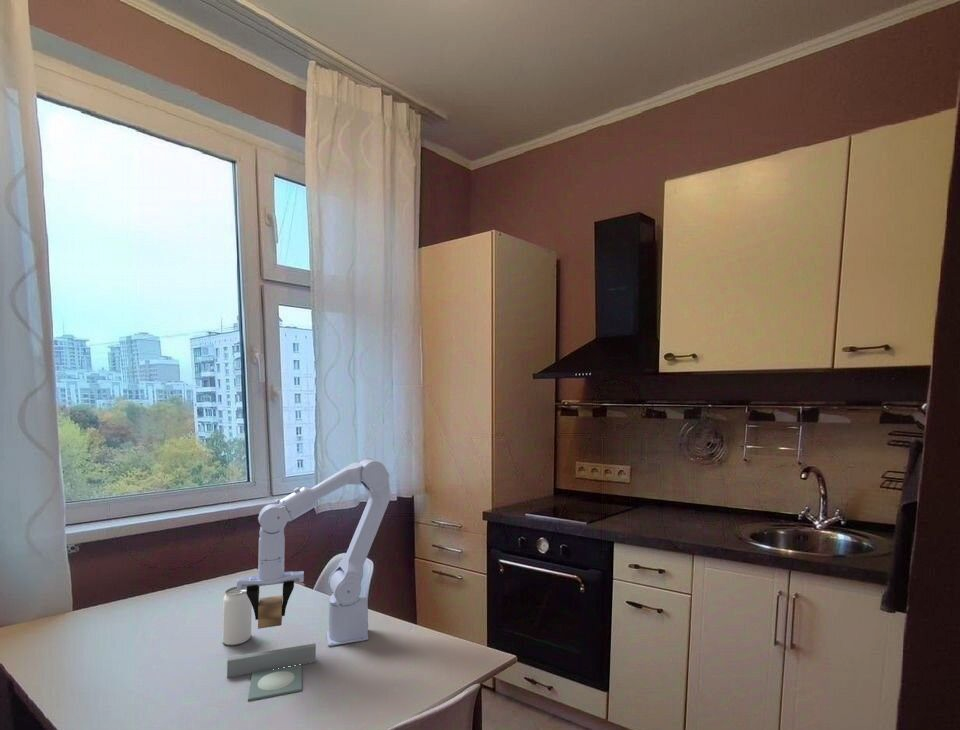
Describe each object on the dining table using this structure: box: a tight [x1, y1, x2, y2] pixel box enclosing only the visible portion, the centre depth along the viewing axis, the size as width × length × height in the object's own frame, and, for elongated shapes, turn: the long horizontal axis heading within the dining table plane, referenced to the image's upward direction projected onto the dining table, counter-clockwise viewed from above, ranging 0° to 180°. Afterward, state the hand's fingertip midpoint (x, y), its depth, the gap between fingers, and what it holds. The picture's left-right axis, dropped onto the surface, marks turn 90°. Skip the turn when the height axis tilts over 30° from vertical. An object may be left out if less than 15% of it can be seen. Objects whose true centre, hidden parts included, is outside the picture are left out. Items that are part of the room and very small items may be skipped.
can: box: [221, 586, 253, 646], centre depth 125 cm, size 6×6×12 cm
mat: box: [247, 665, 303, 702], centre depth 106 cm, size 10×10×1 cm
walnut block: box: [257, 594, 283, 630], centre depth 119 cm, size 5×5×5 cm
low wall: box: [226, 643, 317, 679], centre depth 112 cm, size 18×2×4 cm, turn 110°
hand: (270, 616), depth 119 cm, fingers closed on walnut block, 5 cm apart
